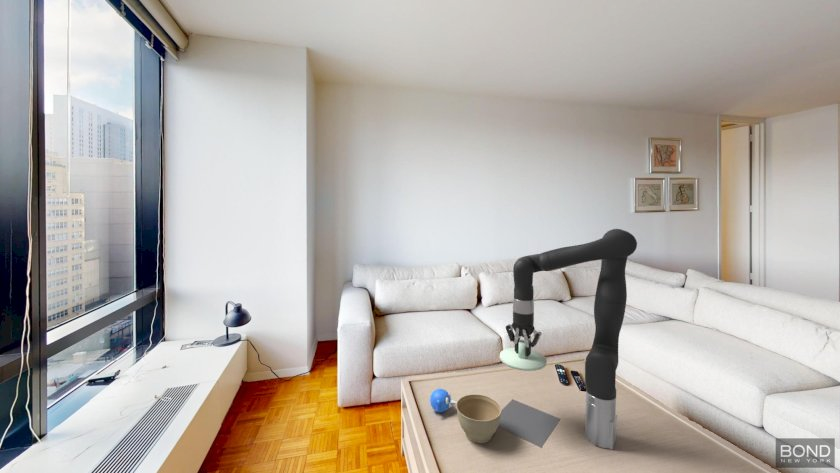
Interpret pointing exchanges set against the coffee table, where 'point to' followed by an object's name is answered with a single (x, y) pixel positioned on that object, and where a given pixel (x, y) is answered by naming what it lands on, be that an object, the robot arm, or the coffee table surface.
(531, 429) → the mat
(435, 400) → the blue mole toy
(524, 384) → the coffee table surface
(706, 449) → the coffee table surface
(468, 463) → the coffee table surface
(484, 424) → the planter bowl
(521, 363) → the lid
